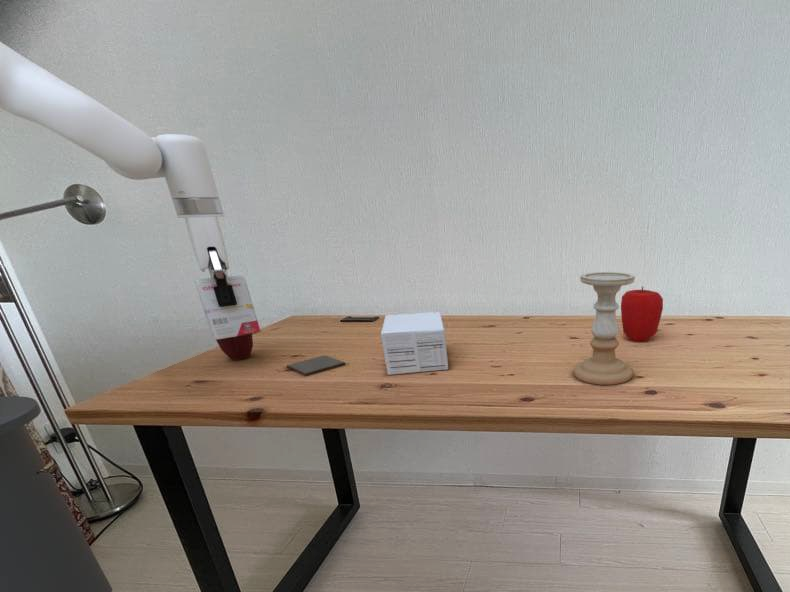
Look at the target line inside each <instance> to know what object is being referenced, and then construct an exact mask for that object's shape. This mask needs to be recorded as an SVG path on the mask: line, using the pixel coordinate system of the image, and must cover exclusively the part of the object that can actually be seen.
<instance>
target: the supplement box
mask: <svg viewBox="0 0 790 592" xmlns="http://www.w3.org/2000/svg"><path fill="white" fill-rule="evenodd" d="M380 338H381V345H382V351H383V357H384V361H385V367H386V373H387V376H391V375H402V374H413V373H424V372H435V371H446V370H449V359H448V349H447V340H446V330H445V326H444V322H443V318H442V312H441V311H429V312H428V311H427V312H416V313H399V314H388V315H387V314H386V315H385V316H384V320H383V324H382V328H381V332H380Z"/></svg>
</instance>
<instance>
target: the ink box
mask: <svg viewBox="0 0 790 592" xmlns="http://www.w3.org/2000/svg"><path fill="white" fill-rule="evenodd" d="M228 278H229V282H230V285H232V288H233V291H234V295H235V298H236V301H237V305H234V306H225V307H220V306H219V305H218V302H217V299H216V295H215V292H214V289H213V287H214V284H213V280H212V278H211V277H208V278H196V279H195V280H194V284H195V287H196V290H197V294H198V296H199V299H200V302H201V305H202V308H203V312H204V315H205V317H206V321H207V323H208V327H209V330H210V332H211V336H212V337H213V339H214V340H215V341H216V340H218V339H224V338H229V337H235V336H241V335H246V334H252V335H253V334H256V333H261V328H260V325H259V322H258V318H257V315H256V312H255V308H254V304H253V301H252V298H251V295H250V291H249V287H248V284H247V280H246V278H245V277H244V276H243V275H229V276H228ZM215 280H216V279H215ZM216 283H217V282H216Z"/></svg>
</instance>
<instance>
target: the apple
mask: <svg viewBox="0 0 790 592" xmlns="http://www.w3.org/2000/svg"><path fill="white" fill-rule="evenodd" d="M663 310H664V298H663V297H662V295H661V294H660V292H657V291H654V290H648V289H644V286H642V287H641V289H632V290H627V291H625V292H624V294H622V295H621V301H620V312H621V313H620V315H621V325H622V332H623V333H624V335H625V336H626V337H627V339H628V340H630V341H632V342H636V343H641V342H642V343H643V342H647V341H648V340H650V339H651V338H652V337H653V336H655V335H656V334H657V332H658V328H659V326H660V321H661V318H662V313H663Z"/></svg>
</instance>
